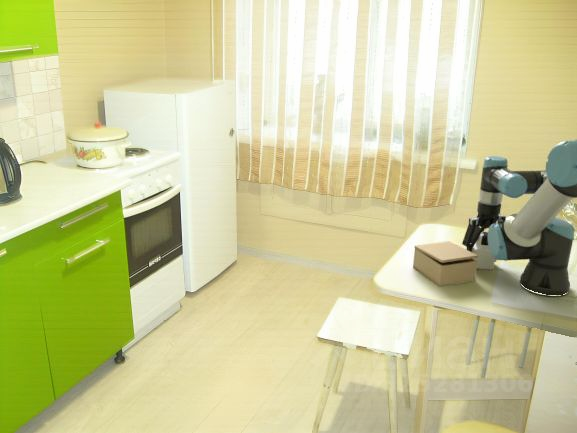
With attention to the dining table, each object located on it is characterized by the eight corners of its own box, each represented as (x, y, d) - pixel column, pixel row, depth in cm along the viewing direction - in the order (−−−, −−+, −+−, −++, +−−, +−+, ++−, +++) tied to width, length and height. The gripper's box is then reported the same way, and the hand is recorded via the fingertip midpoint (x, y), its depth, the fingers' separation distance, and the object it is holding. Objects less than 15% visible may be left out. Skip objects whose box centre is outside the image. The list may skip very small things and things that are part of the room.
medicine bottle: (489, 261, 219) (493, 230, 216) (493, 270, 213) (498, 237, 209) (468, 260, 220) (472, 229, 216) (472, 268, 213) (476, 236, 209)
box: (475, 280, 204) (477, 261, 202) (439, 286, 199) (441, 266, 197) (446, 262, 218) (449, 243, 216) (412, 266, 213) (414, 248, 211)
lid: (477, 257, 202) (478, 255, 201) (441, 262, 197) (441, 260, 197) (448, 243, 216) (449, 241, 216) (414, 247, 211) (414, 245, 211)
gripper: (508, 195, 216) (499, 254, 223) (456, 201, 208) (448, 262, 216) (523, 202, 209) (513, 262, 217) (469, 208, 202) (461, 270, 209)
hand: (481, 262), depth 216 cm, fingers closed on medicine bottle, 9 cm apart
